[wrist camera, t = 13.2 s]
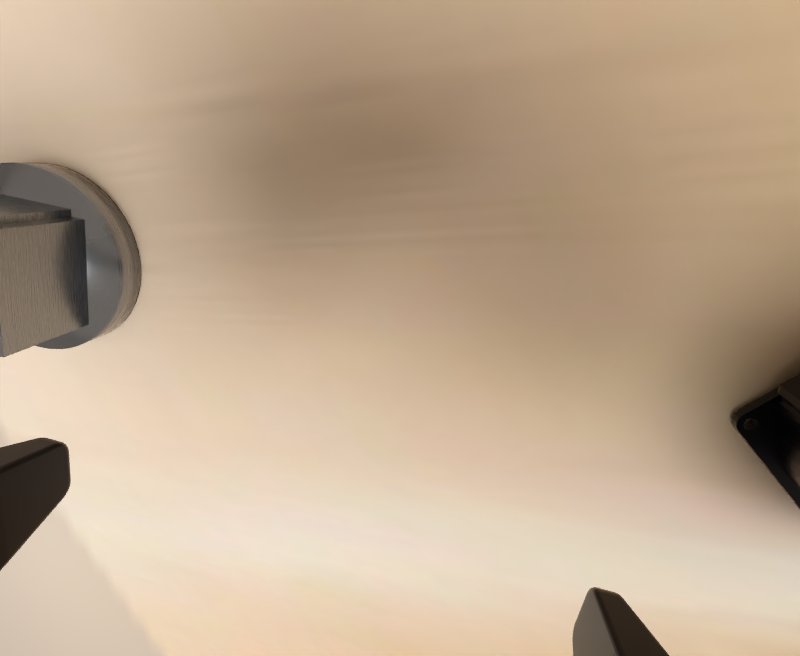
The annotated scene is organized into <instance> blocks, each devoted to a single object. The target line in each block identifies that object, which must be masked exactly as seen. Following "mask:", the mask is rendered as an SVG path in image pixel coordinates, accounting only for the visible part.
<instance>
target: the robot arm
mask: <svg viewBox="0 0 800 656" xmlns="http://www.w3.org/2000/svg"><path fill="white" fill-rule="evenodd" d="M750 418H752V419H753V421H752V422H751V423H750V424H749V425H743V424H744V422H745V421H746V420H747V419H750ZM732 424H733V426H734V428H735V429H736V430H737V431H738V433H739V434H740V435H741V436H742V438H743V439H744V440H745V441H746V443H747V444H748V445H749V446H750V448H751V449H752V450H753V451H754V453H755V454H756V455H757V456H758V458H759V459H760V460H761V461H762V463H763V464H764V465H765V466H766V468H767V469H768V470H769V471H770V473H771V474H772V475H773V476H774V478H775V479H776V480H777V481H778V483H779V484H780V485H781V486H782V488H783V489H784V490H785V491H786V493H787V494H788V495H789V496H790V498H791V499H792V500H793V501H794V503H795V504H796V505H797V506H798V508H799V509H800V374H799V375H797V376H795V377H793V378H792V379H790V380H788V381H786V382H785V383H783V384H781V386H780V387H779V388H777V389H775V390H773V391H771V392H770V393H768V394H766V395H764V396H763V397H761V398H759V399H757V400H755V401H754V402H752V403H750V404H748V405H747V406H745V407H743V408H741V409H739V410H738V411H737V412H735V413H734V415H733V416H732ZM70 481H71V479H70V463H69V450H68V447H67V446H66V444H64V443H62V442H59V441H56V440H52V439H48V438H37V439H33V440H29V441H25V442H21V443H17V444H13V445H9V446H5V447H1V448H0V570H1V569H2V568H3V567H4V566H5V565H6V564H7V563H8V561H9V560H10V559H11V558H12V557H13V556H14V554H15V553H16V552H17V551H18V550H19V549H20V548H21V546H22V545H23V544H24V543H25V542H26V541H27V539H28V538H29V537H30V536H31V535H32V533H33V532H34V531H35V530H36V529H37V528H38V527H39V526H40V524H41V523H42V522H43V521H44V520H45V519H46V517H47V516H48V515H49V514H50V513H51V512H52V510H53V509H54V508H55V507H56V506H57V505H58V503H59V502H60V501H61V500H62V499H63V498H64V496H65V495H66V493H67V491H68V489H69V487H70ZM573 656H669V655H668V653H667V652H666V651H665V650H664V649H663V647H662V646H661V645H660V644H659V642H658V641H657V640H656V639H655V637H654V636H653V635H652V634H651V632H650V631H649V630H648V629H647V627H646V626H645V625H644V624H643V622H642V621H641V620H640V619H639V617H638V616H637V615H636V614H635V613H634V611H633V610H632V609H631V608H630V606H629V605H628V604H627V603H626V601H625V600H624V599H623V598H622V597H621V596H620V595H619V594H617V593H615V592H611V591H608V590H604V589H600V588H597V587H594V588H591V589H590V590H589V591H588V593H587V595H586V597H585V600H584V602H583V605H582V607H581V610H580V612H579V615H578V617H577V620H576V622H575V625H574V630H573Z"/></svg>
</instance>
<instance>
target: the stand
mask: <svg viewBox="0 0 800 656" xmlns="http://www.w3.org/2000/svg"><path fill="white" fill-rule="evenodd" d="M140 280H141V267H140V259H139V253H138V249H137V245H136V242H135V239H134V236H133V234H132V232H131V229H130V227H129V225H128V223H127V221H126V219H125V218H124V216H123V214H122V213H121V211H120V210H119V209H118V207H117V206H116V204H115V203H114V202H113V201H112V200H111V199H110V197H109V196H108V195H107V194H106V193H105V192H104V191H103V190H102V189H101V188H100V187H98V186H97V185H96V184H95V183H93V182H92V181H91V180H89V179H88V178H86V177H84V176H83V175H81V174H79V173H78V172H75V171H73V170H71V169H68V168H66V167H62V166H58V165H54V164H46V163H1V164H0V357H6V356H8V355H11V354H14V353H16V352H19V351H21V350H24V349H27V348H29V347H32V346H34V345H35V346H38V347H43V348H49V349H65V348H71V347H75V346H78V345H81V344H83V343H85V342H88V341H90V340H92V339H95V338H97V337H99V336H102V335H104V334H106V333H109V332H111V331H112V330H114V329H115V328H117V327H118V326H119V325H120V324H122V323H123V322H124V321H125V319H126V318H127V317H128V316H129V314H130V313H131V311H132V309H133V307H134V305H135V303H136V300H137V297H138V294H139V288H140Z"/></svg>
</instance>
